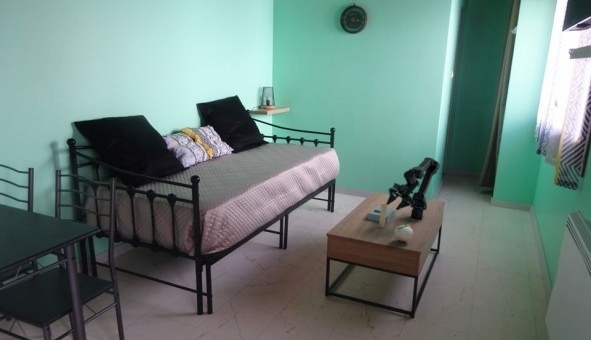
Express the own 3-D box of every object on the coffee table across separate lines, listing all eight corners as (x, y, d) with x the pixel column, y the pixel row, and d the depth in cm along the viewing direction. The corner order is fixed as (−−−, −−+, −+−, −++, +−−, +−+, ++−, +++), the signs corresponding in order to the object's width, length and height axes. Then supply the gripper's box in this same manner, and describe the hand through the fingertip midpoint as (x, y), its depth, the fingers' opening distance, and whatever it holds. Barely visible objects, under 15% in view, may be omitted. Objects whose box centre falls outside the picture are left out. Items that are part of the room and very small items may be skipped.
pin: (385, 226, 232) (387, 203, 229) (383, 228, 230) (385, 204, 226) (380, 225, 234) (382, 202, 230) (378, 227, 231) (380, 203, 228)
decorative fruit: (403, 246, 206) (405, 228, 204) (391, 240, 213) (393, 223, 210) (415, 242, 212) (417, 224, 210) (403, 237, 218) (405, 219, 216)
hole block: (394, 215, 251) (395, 209, 250) (387, 223, 237) (387, 217, 236) (375, 211, 256) (376, 205, 255) (367, 219, 243) (368, 213, 242)
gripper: (392, 174, 237) (374, 193, 236) (412, 182, 220) (393, 203, 219) (402, 186, 242) (385, 205, 240) (422, 195, 225) (404, 215, 224)
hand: (391, 207), depth 231 cm, fingers open, 9 cm apart
